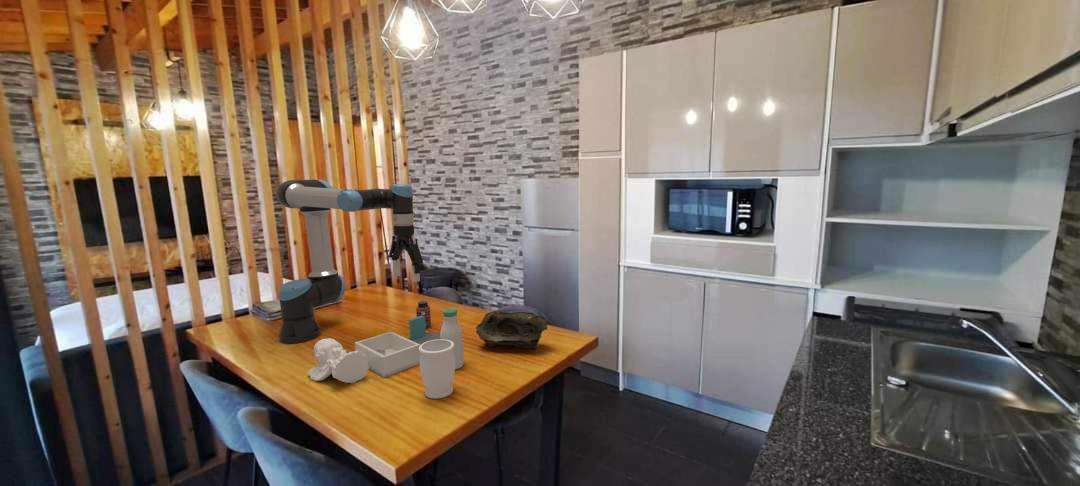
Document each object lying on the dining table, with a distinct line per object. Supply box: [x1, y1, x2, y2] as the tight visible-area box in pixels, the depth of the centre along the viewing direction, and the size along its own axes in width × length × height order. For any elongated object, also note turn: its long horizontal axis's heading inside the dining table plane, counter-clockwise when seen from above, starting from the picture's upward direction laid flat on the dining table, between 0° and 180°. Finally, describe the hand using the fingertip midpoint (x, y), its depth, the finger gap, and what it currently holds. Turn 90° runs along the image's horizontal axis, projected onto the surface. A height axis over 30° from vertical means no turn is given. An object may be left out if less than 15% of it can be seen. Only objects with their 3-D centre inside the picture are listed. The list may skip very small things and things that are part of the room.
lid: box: [407, 316, 440, 345], centre depth 165 cm, size 21×15×10 cm
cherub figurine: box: [307, 337, 370, 384], centre depth 141 cm, size 13×12×20 cm
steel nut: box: [374, 349, 386, 356], centre depth 153 cm, size 4×4×2 cm
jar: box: [419, 339, 456, 400], centre depth 129 cm, size 11×10×15 cm
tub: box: [354, 331, 421, 378], centre depth 151 cm, size 20×14×7 cm
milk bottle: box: [439, 308, 465, 370], centre depth 147 cm, size 8×8×20 cm
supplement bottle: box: [415, 300, 432, 329], centre depth 187 cm, size 6×6×11 cm
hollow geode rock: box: [475, 311, 548, 350], centre depth 165 cm, size 28×13×15 cm
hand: (406, 278), depth 167 cm, fingers open, 13 cm apart
